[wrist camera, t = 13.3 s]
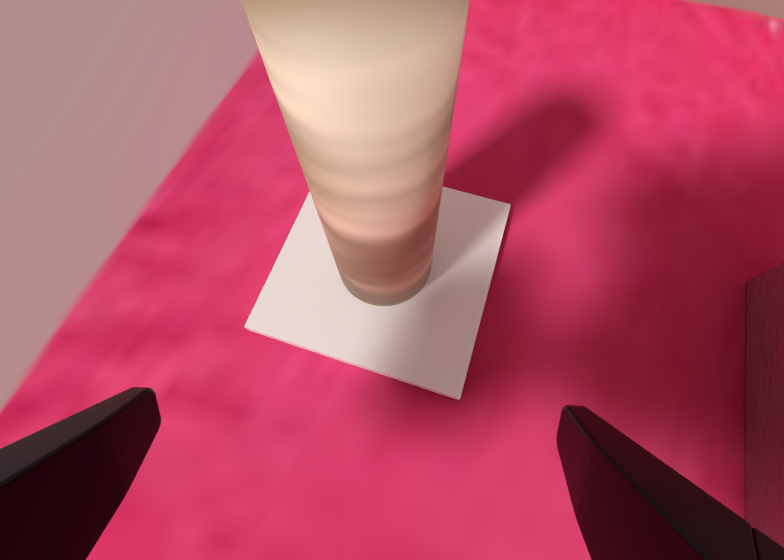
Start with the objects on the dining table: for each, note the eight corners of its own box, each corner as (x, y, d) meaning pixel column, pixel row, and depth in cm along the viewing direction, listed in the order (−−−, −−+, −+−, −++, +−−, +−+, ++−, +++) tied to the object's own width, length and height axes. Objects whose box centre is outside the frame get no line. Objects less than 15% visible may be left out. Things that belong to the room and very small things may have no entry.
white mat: (458, 400, 18) (460, 398, 17) (247, 330, 19) (244, 326, 19) (508, 209, 22) (511, 204, 21) (328, 162, 23) (326, 156, 22)
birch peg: (445, 286, 19) (513, 13, 7) (356, 319, 19) (272, 84, 7) (410, 210, 21) (419, -115, 9) (327, 239, 20) (217, -65, 8)
